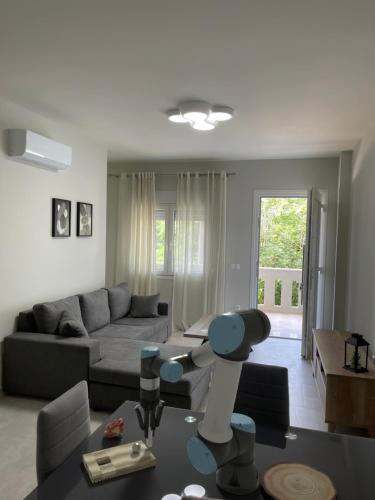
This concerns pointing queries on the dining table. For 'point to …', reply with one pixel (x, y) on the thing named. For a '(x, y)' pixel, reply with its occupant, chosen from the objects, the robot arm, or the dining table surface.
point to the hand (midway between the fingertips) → (149, 445)
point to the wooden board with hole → (117, 461)
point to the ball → (136, 447)
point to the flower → (114, 428)
